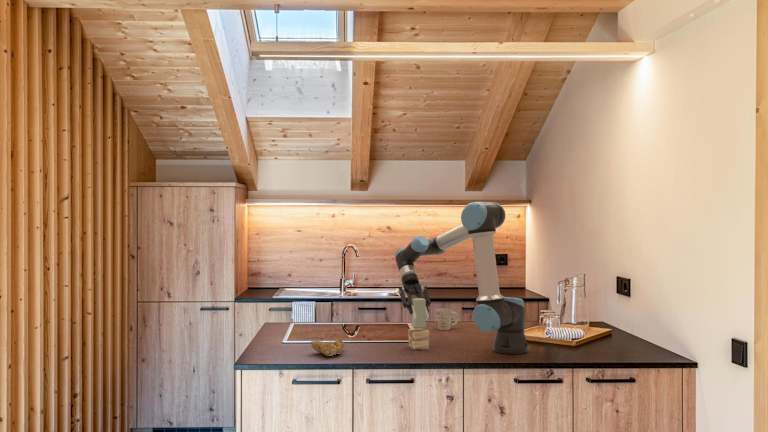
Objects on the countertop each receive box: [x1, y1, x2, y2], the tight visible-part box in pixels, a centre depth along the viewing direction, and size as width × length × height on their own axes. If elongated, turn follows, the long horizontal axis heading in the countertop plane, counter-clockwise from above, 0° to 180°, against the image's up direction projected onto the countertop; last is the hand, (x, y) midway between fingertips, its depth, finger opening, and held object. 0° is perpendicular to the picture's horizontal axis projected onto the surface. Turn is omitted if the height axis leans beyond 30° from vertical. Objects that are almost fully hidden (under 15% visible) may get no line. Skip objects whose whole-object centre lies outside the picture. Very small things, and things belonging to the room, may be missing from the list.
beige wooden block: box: [408, 338, 430, 351], centre depth 274 cm, size 7×7×4 cm
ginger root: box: [310, 337, 346, 357], centre depth 262 cm, size 16×16×8 cm
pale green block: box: [410, 297, 427, 329], centre depth 273 cm, size 5×5×12 cm
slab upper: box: [407, 327, 430, 341], centre depth 274 cm, size 7×7×4 cm
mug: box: [435, 307, 460, 331], centre depth 317 cm, size 8×13×10 cm, turn 115°
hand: (421, 319), depth 270 cm, fingers closed on pale green block, 5 cm apart
